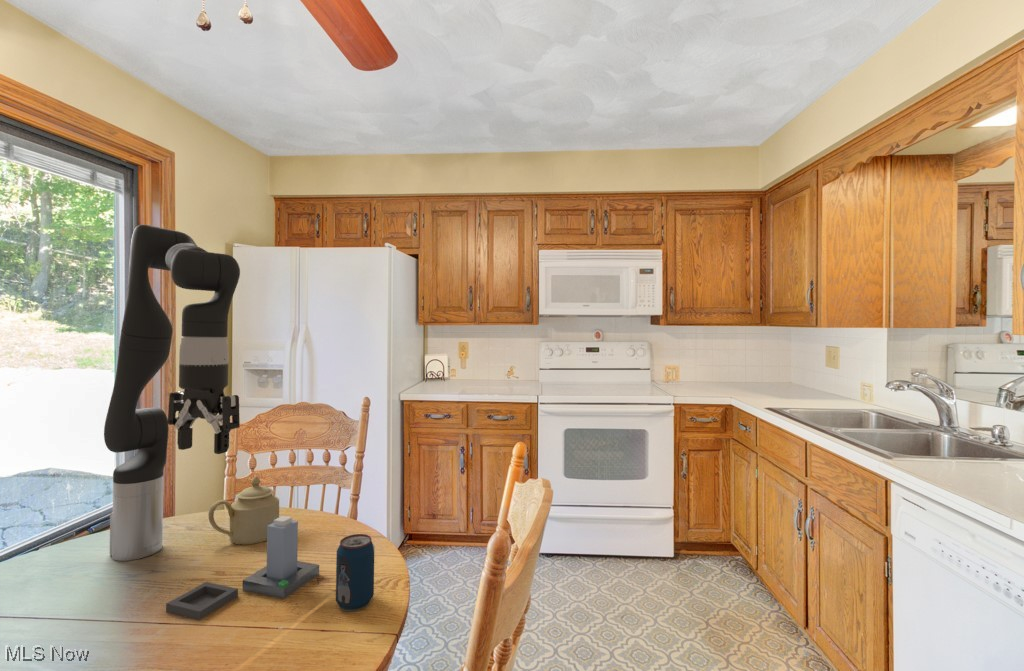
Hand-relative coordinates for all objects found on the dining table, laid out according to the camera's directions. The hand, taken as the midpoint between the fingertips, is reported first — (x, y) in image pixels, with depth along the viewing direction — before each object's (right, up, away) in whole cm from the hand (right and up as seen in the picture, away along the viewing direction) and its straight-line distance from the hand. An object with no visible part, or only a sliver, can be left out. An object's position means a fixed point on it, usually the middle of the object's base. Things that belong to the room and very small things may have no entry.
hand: (202, 450), depth 86 cm
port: (+9, -30, +11) cm, 33 cm away
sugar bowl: (-9, -30, +32) cm, 45 cm away
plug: (+9, -30, +11) cm, 33 cm away
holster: (-2, -30, +3) cm, 30 cm away
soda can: (+26, -31, +5) cm, 40 cm away
